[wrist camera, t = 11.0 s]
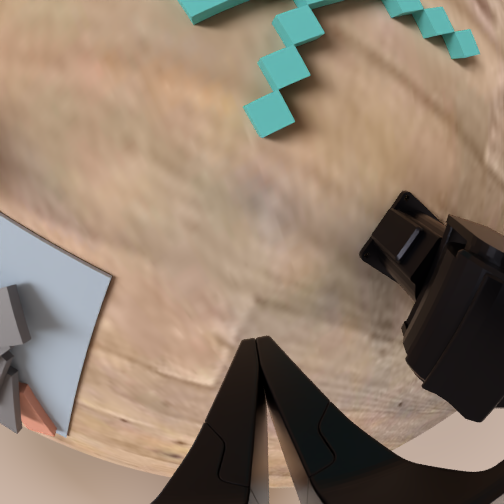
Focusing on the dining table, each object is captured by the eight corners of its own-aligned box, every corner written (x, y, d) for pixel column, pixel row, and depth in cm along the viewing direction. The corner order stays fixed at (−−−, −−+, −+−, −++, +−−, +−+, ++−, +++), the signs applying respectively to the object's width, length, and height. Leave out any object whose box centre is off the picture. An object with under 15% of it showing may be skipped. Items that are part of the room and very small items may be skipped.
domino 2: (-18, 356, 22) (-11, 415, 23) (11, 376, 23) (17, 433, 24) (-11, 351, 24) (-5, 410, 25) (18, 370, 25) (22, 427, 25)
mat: (112, 275, 22) (110, 278, 21) (66, 435, 32) (66, 437, 32) (-29, 193, 17) (-32, 194, 17) (-20, 385, 27) (-21, 387, 27)
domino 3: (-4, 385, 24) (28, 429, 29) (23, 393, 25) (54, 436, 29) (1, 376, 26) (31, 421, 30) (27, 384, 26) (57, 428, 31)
